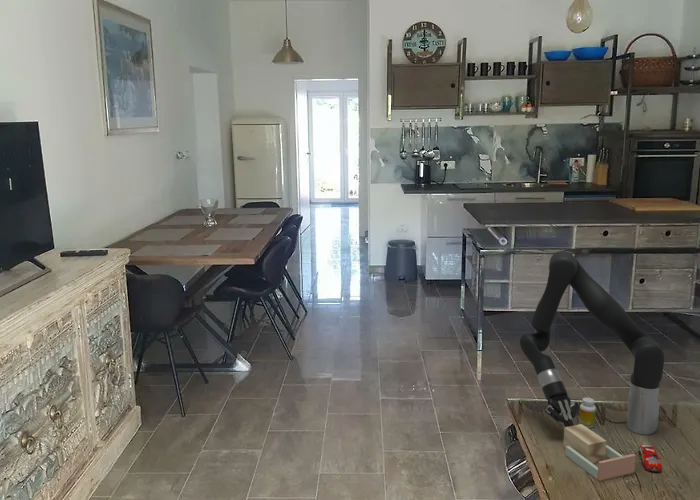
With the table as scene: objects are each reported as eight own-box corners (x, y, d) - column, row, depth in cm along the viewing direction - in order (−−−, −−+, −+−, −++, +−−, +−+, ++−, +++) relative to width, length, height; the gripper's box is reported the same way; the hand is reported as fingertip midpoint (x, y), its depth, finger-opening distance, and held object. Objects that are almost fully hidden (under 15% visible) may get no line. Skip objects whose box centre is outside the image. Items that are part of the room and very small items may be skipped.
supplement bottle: (593, 429, 214) (594, 404, 212) (577, 425, 217) (579, 401, 215) (595, 423, 219) (597, 398, 217) (580, 419, 222) (582, 395, 220)
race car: (663, 475, 186) (664, 463, 185) (644, 472, 188) (645, 461, 187) (655, 453, 199) (656, 442, 198) (637, 451, 200) (638, 440, 199)
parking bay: (598, 447, 202) (599, 431, 201) (634, 472, 187) (635, 455, 186) (565, 454, 198) (566, 438, 197) (599, 481, 183) (600, 463, 182)
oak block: (580, 442, 205) (581, 424, 204) (604, 460, 194) (606, 441, 193) (563, 446, 203) (564, 427, 202) (587, 464, 192) (588, 444, 191)
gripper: (540, 382, 208) (561, 431, 199) (572, 377, 212) (594, 425, 203) (531, 390, 214) (550, 438, 205) (562, 385, 218) (582, 432, 209)
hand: (572, 432), depth 204 cm, fingers closed
